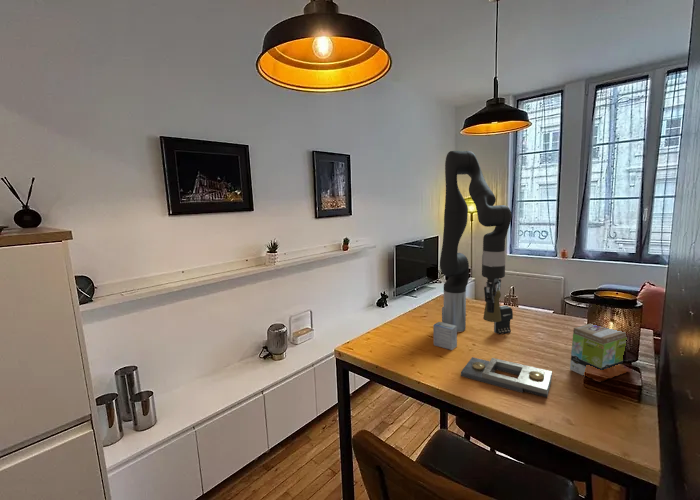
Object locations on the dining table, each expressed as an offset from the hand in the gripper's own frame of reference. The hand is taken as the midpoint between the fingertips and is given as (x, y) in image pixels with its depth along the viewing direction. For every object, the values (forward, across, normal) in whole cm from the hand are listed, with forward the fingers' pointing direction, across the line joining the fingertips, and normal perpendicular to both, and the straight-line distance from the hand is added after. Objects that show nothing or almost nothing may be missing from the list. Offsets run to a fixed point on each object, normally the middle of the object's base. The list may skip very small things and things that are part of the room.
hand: (492, 310), depth 123 cm
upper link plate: (+17, +14, +11) cm, 25 cm away
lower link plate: (+17, +14, +5) cm, 22 cm away
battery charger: (+17, -23, -1) cm, 29 cm away
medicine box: (+17, +1, -17) cm, 24 cm away
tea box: (+17, -6, +32) cm, 37 cm away
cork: (+3, 0, 0) cm, 3 cm away
